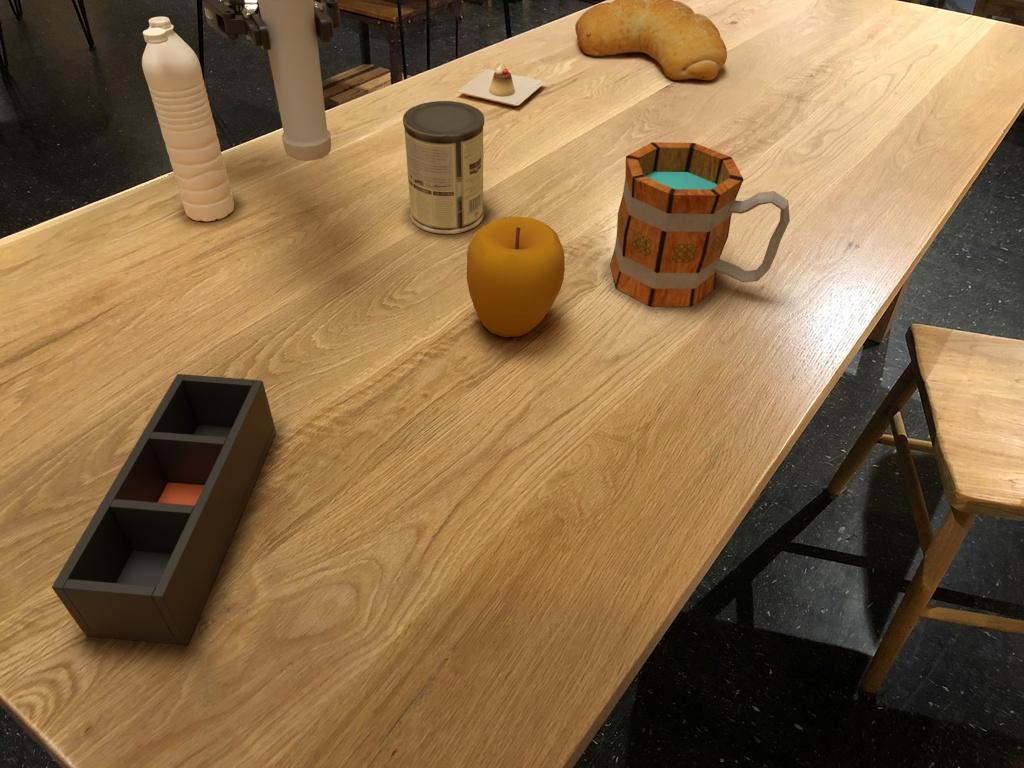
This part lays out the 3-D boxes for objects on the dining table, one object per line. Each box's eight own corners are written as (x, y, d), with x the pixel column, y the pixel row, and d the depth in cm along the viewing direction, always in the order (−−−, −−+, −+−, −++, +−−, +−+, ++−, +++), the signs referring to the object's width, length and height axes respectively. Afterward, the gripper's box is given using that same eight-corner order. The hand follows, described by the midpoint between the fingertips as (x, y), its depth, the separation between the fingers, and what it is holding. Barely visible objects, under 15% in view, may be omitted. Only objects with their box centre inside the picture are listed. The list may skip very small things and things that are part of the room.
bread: (746, 61, 152) (758, 7, 145) (701, 91, 140) (712, 35, 134) (608, 23, 166) (614, -27, 159) (556, 48, 154) (560, -5, 147)
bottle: (330, 162, 82) (293, -110, 65) (280, 162, 82) (231, -112, 64) (334, 140, 86) (301, -123, 69) (287, 139, 85) (242, -125, 68)
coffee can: (418, 193, 110) (412, 97, 101) (488, 199, 110) (489, 103, 100) (401, 231, 103) (394, 131, 93) (477, 238, 102) (477, 138, 92)
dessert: (545, 87, 140) (547, 60, 136) (518, 111, 132) (519, 83, 128) (487, 74, 143) (487, 48, 140) (456, 97, 135) (456, 70, 132)
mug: (595, 293, 94) (610, 182, 84) (622, 238, 103) (639, 132, 93) (757, 332, 89) (794, 220, 79) (770, 270, 99) (804, 163, 88)
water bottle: (187, 200, 107) (132, 10, 90) (236, 196, 108) (190, 8, 91) (182, 233, 101) (121, 36, 84) (233, 229, 102) (184, 34, 85)
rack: (85, 636, 59) (51, 587, 54) (196, 425, 76) (177, 373, 71) (187, 645, 59) (162, 597, 54) (276, 431, 75) (262, 380, 71)
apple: (553, 360, 85) (562, 263, 76) (457, 348, 86) (455, 250, 77) (564, 301, 92) (573, 207, 84) (476, 290, 94) (476, 196, 85)
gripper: (325, 13, 89) (371, 66, 78) (197, 27, 84) (227, 85, 73) (317, -60, 84) (364, -14, 73) (180, -49, 79) (209, 1, 68)
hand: (295, 35), depth 73 cm, fingers closed on bottle, 5 cm apart
